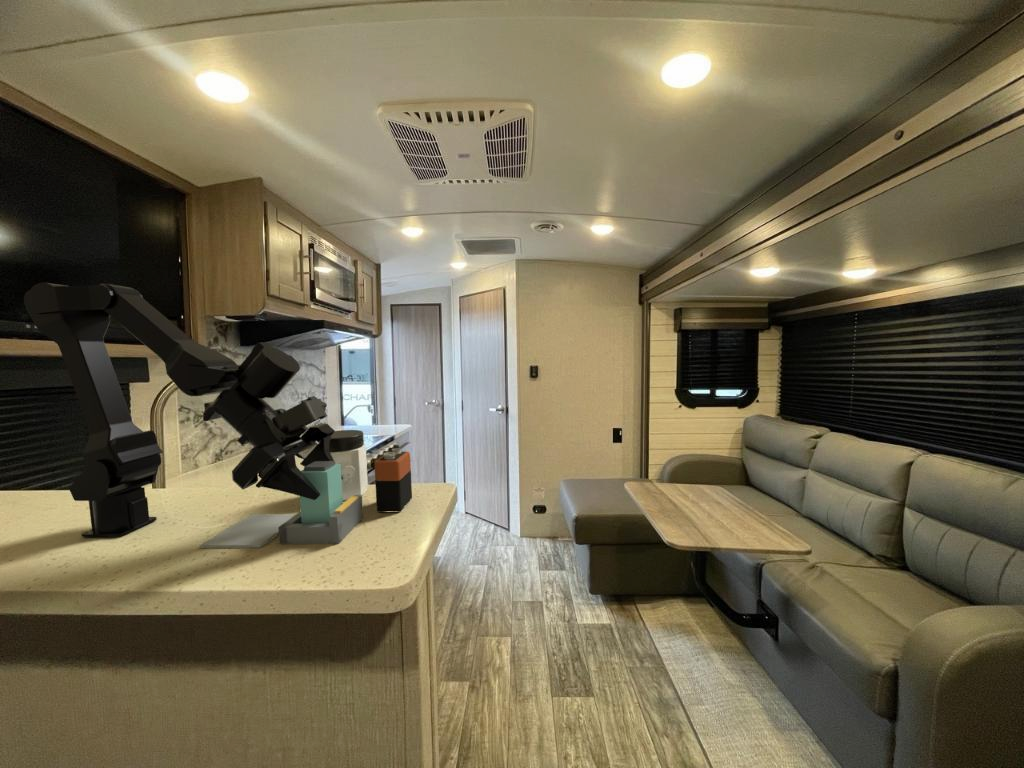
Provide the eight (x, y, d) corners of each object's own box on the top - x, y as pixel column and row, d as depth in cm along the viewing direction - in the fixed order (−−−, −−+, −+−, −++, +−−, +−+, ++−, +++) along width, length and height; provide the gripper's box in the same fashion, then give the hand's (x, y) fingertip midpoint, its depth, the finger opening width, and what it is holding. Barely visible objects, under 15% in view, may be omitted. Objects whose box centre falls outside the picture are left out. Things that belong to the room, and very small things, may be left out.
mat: (199, 547, 58) (199, 545, 58) (251, 516, 69) (250, 514, 69) (260, 547, 58) (260, 544, 58) (302, 516, 69) (302, 513, 69)
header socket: (279, 543, 59) (277, 515, 59) (311, 518, 68) (309, 493, 68) (338, 543, 59) (336, 514, 58) (363, 518, 68) (361, 493, 67)
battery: (375, 513, 70) (372, 456, 69) (390, 498, 77) (387, 446, 76) (400, 513, 70) (397, 456, 69) (412, 498, 76) (410, 446, 75)
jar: (323, 505, 74) (318, 440, 73) (316, 493, 80) (312, 433, 79) (373, 495, 78) (370, 434, 77) (363, 484, 85) (360, 427, 84)
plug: (302, 537, 61) (297, 468, 60) (317, 524, 66) (313, 460, 65) (331, 536, 61) (326, 468, 60) (344, 524, 65) (340, 459, 65)
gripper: (246, 387, 52) (336, 470, 53) (319, 377, 71) (385, 438, 71) (192, 448, 53) (281, 529, 54) (279, 422, 72) (344, 482, 72)
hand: (330, 488), depth 63 cm, fingers open, 7 cm apart
